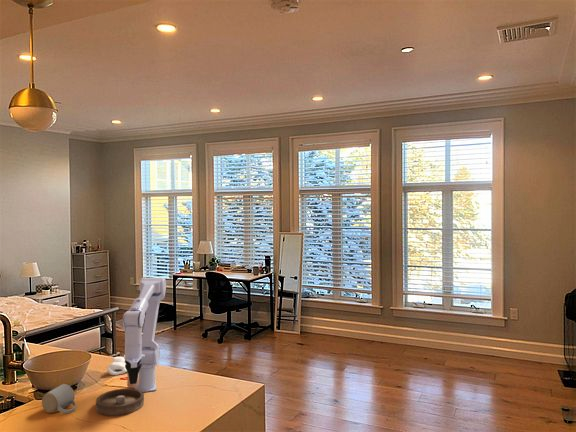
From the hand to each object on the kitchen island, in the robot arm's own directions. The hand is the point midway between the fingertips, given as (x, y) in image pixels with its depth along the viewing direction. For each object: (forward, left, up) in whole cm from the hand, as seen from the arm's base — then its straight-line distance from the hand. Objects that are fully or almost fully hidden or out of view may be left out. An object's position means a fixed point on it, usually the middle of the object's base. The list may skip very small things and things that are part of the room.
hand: (133, 381), depth 161 cm
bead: (0, 0, -1) cm, 1 cm away
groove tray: (0, -4, -8) cm, 9 cm away
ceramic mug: (-4, -24, -9) cm, 26 cm away
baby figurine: (-37, -4, -9) cm, 38 cm away
